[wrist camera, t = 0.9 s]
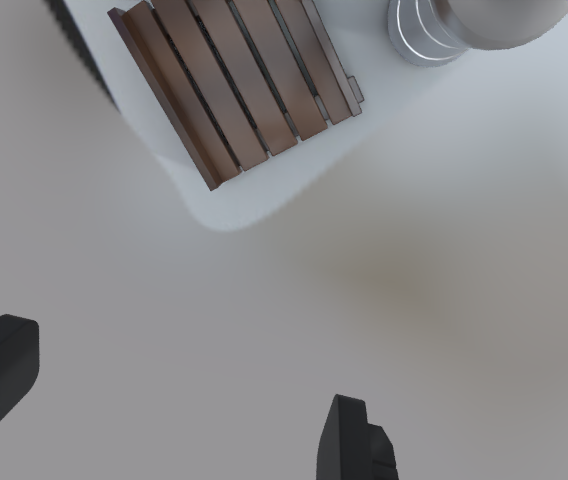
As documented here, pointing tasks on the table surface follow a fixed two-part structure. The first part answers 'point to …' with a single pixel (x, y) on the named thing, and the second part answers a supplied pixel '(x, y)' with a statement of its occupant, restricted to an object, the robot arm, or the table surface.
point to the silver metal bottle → (467, 26)
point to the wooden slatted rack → (237, 77)
